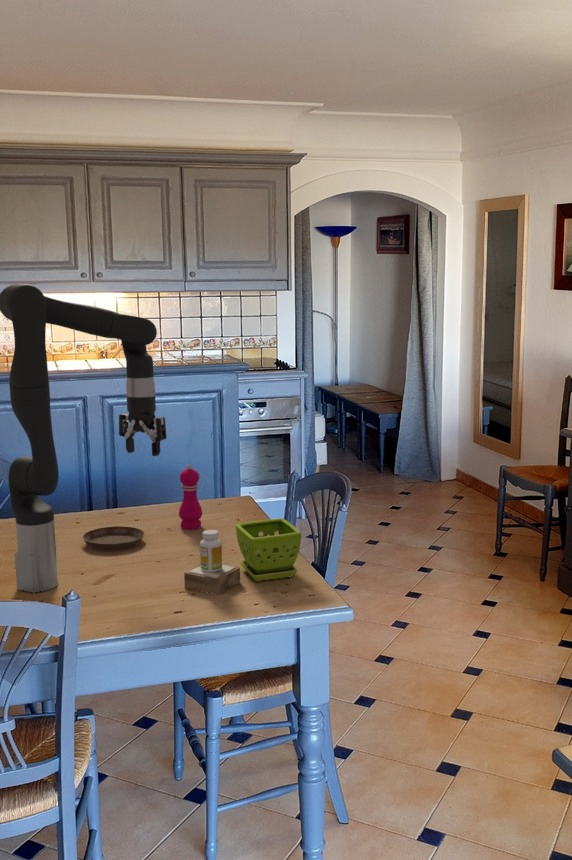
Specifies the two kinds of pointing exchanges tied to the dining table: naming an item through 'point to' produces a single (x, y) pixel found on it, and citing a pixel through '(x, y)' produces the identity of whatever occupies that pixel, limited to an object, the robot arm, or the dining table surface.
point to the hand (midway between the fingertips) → (143, 454)
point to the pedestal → (212, 579)
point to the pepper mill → (190, 500)
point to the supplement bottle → (211, 551)
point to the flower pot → (268, 548)
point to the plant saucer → (113, 538)
